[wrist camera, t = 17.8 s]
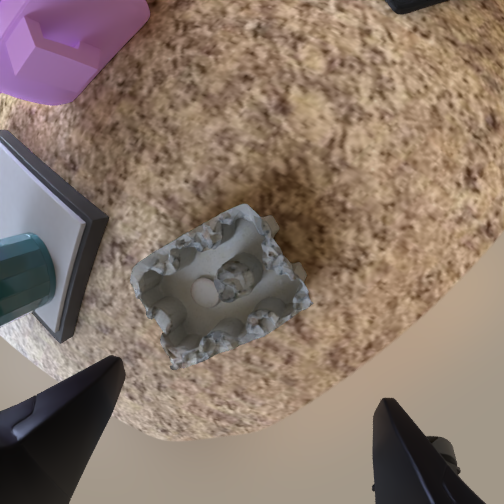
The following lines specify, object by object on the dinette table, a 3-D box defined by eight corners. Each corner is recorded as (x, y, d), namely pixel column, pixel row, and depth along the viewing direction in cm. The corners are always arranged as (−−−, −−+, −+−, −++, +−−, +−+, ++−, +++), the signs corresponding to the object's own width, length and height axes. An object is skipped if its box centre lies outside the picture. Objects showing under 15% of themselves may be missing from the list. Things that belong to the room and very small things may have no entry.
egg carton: (193, 348, 23) (167, 376, 19) (144, 262, 23) (110, 277, 19) (322, 298, 20) (317, 326, 16) (267, 191, 19) (249, 194, 15)
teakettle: (136, 102, 20) (-6, 69, 8) (19, 116, 24) (-77, 114, 12) (182, -63, 16) (104, -136, 4) (57, -17, 19) (-20, -45, 8)
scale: (73, 336, 27) (56, 346, 25) (-14, 233, 29) (-29, 237, 27) (109, 217, 23) (87, 221, 20) (7, 129, 25) (-11, 129, 22)
